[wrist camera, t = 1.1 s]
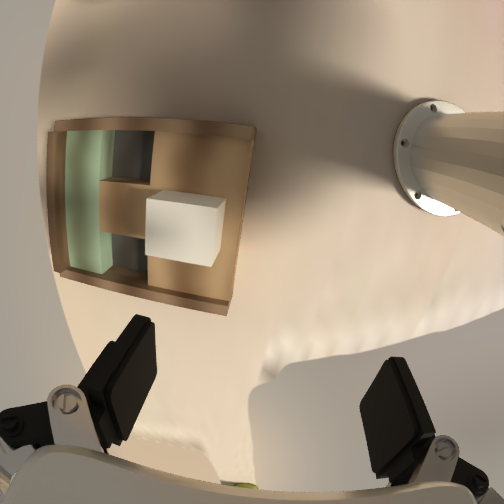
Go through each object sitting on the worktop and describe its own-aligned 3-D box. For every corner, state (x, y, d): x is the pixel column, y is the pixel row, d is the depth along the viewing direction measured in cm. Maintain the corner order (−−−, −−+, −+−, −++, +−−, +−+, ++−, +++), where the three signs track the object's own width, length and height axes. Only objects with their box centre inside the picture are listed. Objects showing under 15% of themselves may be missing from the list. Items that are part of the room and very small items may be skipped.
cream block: (226, 198, 26) (217, 208, 22) (220, 249, 28) (211, 267, 24) (164, 189, 26) (146, 198, 22) (161, 239, 28) (145, 254, 24)
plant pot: (222, 480, 53) (217, 508, 45) (260, 480, 52) (257, 509, 44) (233, 491, 57) (230, 517, 48) (268, 491, 55) (266, 518, 47)
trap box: (256, 128, 26) (252, 125, 21) (232, 296, 33) (224, 321, 28) (76, 120, 26) (49, 121, 22) (77, 263, 33) (55, 279, 29)
